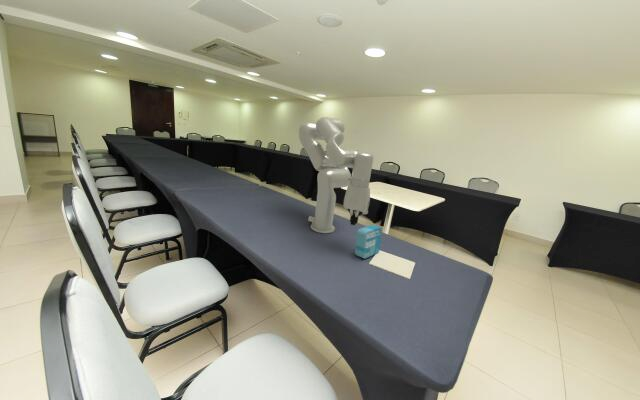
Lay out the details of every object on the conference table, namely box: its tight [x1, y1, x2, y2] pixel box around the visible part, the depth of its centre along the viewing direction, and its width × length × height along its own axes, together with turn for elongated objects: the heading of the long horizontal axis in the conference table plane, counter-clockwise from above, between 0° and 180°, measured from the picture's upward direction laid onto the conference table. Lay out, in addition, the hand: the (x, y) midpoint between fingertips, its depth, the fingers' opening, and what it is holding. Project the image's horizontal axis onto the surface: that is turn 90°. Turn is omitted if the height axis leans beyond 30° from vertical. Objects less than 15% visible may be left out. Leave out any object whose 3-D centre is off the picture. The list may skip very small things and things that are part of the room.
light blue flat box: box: [354, 224, 383, 260], centre depth 102 cm, size 12×4×12 cm, turn 133°
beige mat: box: [368, 249, 416, 280], centre depth 98 cm, size 16×14×1 cm
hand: (353, 224), depth 103 cm, fingers closed
